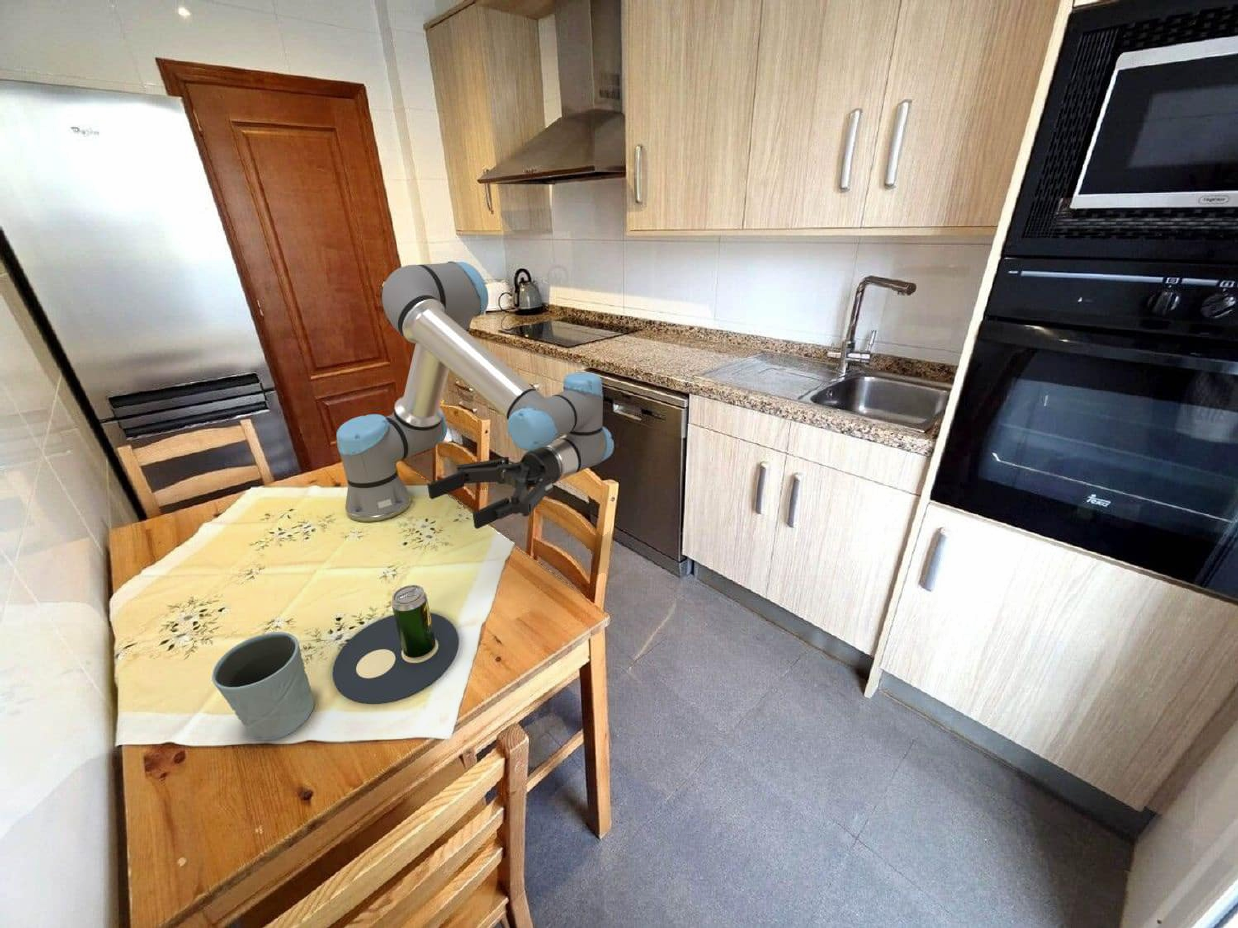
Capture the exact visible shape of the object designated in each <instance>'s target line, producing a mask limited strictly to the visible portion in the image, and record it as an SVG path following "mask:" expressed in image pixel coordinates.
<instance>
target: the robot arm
mask: <svg viewBox="0 0 1238 928" xmlns="http://www.w3.org/2000/svg"><path fill="white" fill-rule="evenodd" d="M381 292H382V294H381V302H382V307H383V310H384V313H385V315H386V318H387V320H388V321H389V323H390V324H391V325H392V327H393V329H395V330H396V331H397V333H399V335H401V336H402V337H403V338H404V339H406V341H408V342H410V343H411V344H415V346H414V350H413V354H412V358H411V363H410V367H409V371H408V376H407V379H406V380H407V381H406V384H405V389H404V393H403V396H401V397H400V398H398V399H397V400H396V401H395V403H394V406H393V412H392V414H390V415H387V416H384V415H382V414H379V413H378V414H375V413H372V414H371V413H369V414H367V415H360V416H357V417H353V418H351V419H349V420H347V421H345V422H343V424H341V425H340V426H339V428H337V431H336V435H335V436H336V442H337V450H338V452H339V455H340V459H341V463H342V466H343V471H344V474H345V475H344V476H345V478H346V481H347V491H346V499H345V500H346V501H345V506H344V507H345V512H346V516H347V517H348V518H349V519H351V520H352V521H356V522H359V523H360V522H361V523H374V522H375V523H376V522H381V521H385V520H389V519H393V518H394V517H397V516H399V515H400V514H402V513H404V512H405V511H406V510H408V509H409V508H410V506H411V504H412V497H411V493H410V491H409V490H408V488H407V487H406V485H405V483H404V481H403V480H402V478H401V477H400V475H399V472H398V466H397V463H399V462H401V461H404V460H406V459H408V458H411V457H413V456H416V455H418V454H420V453H423V452H425V451H427V450H432V449H433V448H435V447H436V446H438V445H440V444H442V442H443V441H444V440H445V438H446V437H447V435H448V423H446V422H447V418H446V415H445V414H444V411H443V410H442V408H441V406H440V404H441V400H442V397H443V393H444V390H445V386H446V383H447V380H448V376H449V374H450V372H452V373H453V374H454V375H455V376H456V377H457V378H459V379H460V381H462V382H463V383H464V384H466V385H467V386H468V387H469V388H470V389H471V390H472V391H473V392H474V393H476V395H478V396H479V397H480V398H482V399H483V400H484V401H485V402H486V403H488V404H489V406H491V407H492V408H493V409H494V410H495V411H497V413H499V415H501V416H502V417H504V418H505V419H506V420H507V424H506V428H507V429H506V430H507V433H508V436H509V437H511V440H512V443H513V444H514V445H515V446H516V447H518V448H519V449H520V450H522V451H526V452H525V453H524V454H523V455H522V458H521V459H520V461H517V462H516V461H515V462H511V461H510V457H509V456H503V457H499V458H496V459H491V460H484V461H477V462H470V463H469V462H468V463H463V464H462V463H461V464H458V465H457V464H456V473H454V474H451V475H448V476H446V477H443V478H440V479H437V480H435V481H433V482H430V483H427V484H426V485H427V490H428V491H427V492H428V497H429V499H430V500H434V499H437V498H439V497H442V496H444V495H447V494H449V493H452V492H455V491H458V490H459V489H461V488H464V487H465V484H480V483H481V484H484V483H498V484H499V485H509V486H511V487H512V488H514V492H513V494H512V495H510V498H508V497H505V498H502V499H500V500H498V501H496V502H493V503H491V504H489V505H487V506H484V507H483V508H480V509H478V510H476V511H473V512H472V519H473V527H474V529H476V530H478V529H481V528H482V527H485V526H487V525H490V524H491V523H494V522H495V521H497V520H502V519H504V518H506V517H508V516H510V515H518V514H521V516H522V517H526V518H527V517H529V516H530V515H531V513H533V511H534V510H535V509H536V508H537V507H538V506H539V504H540V503H541V502H542V500H543V499H544V498H545V497H546V496H547V495H549V494H550V493H552V492H553V485H554V484H556V483H557V482H560V481H562V480H564V479H566V478H568V477H570V476H573V475H575V474H577V473H580V472H582V471H584V470H587V469H588V468H591V467H594V466H597V465H599V464H600V463H601V462H603V461H605V460H607V459H608V458H609V457H611V455H612V454H613V452H614V449H615V443H614V440H613V438H612V433H611V432H610V431H609V430H608V428H606V427H605V426H603V417H604V415H603V413H604V412H603V411H604V393H603V381H602V378H601V377H600V376H599V375H597V374H595V373H593V372H592V373H591V372H584V371H583V372H579V371H578V372H573V373H569V374H567V375H566V376H565V377H564V379H563V386H562V389H563V390H562V391H560V392H558V393H555V394H553V395H551V396H549V397H545V396H544V395H543V394H542V393H540V392H539V391H538V390H536V388H534V387H533V386H531V385H530V383H528V382H527V381H526V380H525V379H524V378H522V377H521V376H520V375H519V374H518V373H516V372H515V371H514V370H513V369H512V368H510V366H508V365H507V364H506V363H504V362H503V360H501V359H500V358H499V357H497V356H496V355H495V354H494V353H493V352H491V351H490V350H489V349H488V347H486V346H484V345H483V344H482V343H481V342H480V341H479V340H478V339H476V338H475V337H474V336H473V335H472V334H470V333H469V330H470V327H471V324H472V320H473V318H474V317H475V318H477V317H480V316H481V315H483V314H484V313H486V310H487V309H488V306H489V290H488V287H487V286H486V283H485V280H484V278H483V276H482V274H481V272H479V270H478V269H477V268H475V267H474V266H473V265H472V264H470V263H468V262H464V261H453V260H449V261H447V262H441V263H425V264H424V263H423V264H407V265H404V266H401V267H399V268H397V269H395V270H394V271H393V272H391V273H390V275H389V276H388V277H387V278H386V280H385V282H384V285H383V287H382V291H381ZM564 436H565V437H564ZM531 488H532V489H531Z"/></svg>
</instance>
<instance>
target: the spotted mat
mask: <svg viewBox="0 0 1238 928" xmlns="http://www.w3.org/2000/svg"><path fill="white" fill-rule="evenodd" d="M430 615H431V620H432V625H433V630H434V635H435V641H436V644H435V647H434V650H433V651H432V653H430V654H429V655H428V656H426V657H424V658H422V659H417V660H414V659H410V658H408V657H407V656H405V654H404V653H403V650H402V646H401V641H400V637H399V633H398V629H397V625H396V621H395V616H394V614H392V615H389V616H386V617H384V618H381V619H378V620H377V621H375V622H373V623H371V624H369V625H367V626H365V627H364V628H362V629H361V630H360V631H358V632H357V633H355V634H354V635H353V636H352V637H351V638H350V639H349V640H348V641H347V642H346V643H345V644H344V645H343V647H341V648H340V651H339V652H338V654H337V656H336V658H335V660H334V663H333V666H332V680H333V683H334V686H335V687H336V690H337V691H338V692H339V693H340V694H341V695H342V696H344V697H345V698H347V699H349V700H351V701H353V702H356V703H361V704H367V705H368V704H369V705H379V704H387V703H392V702H393V703H394V702H397V701H400V700H403V699H406V698H409V697H411V696H414V695H416V694H417V693H420V692H421V691H423V690H425V689H426V688H428V687H430V686H431V685H432V684H433V683H435V682H436V681H437V680H438V679H440V677H442V676H443V675H444V674H445V672H447V670H448V669H449V668H450V666H451V665H452V663H453V662H454V660H455V658H456V655H457V653H458V650H459V635H458V631H457V628H456V627H455V626H454V624H453V623H452V622H451V621H450V620H449V619H447V618H446V617H444V616H442V615H440V614H438V613H434V612H430Z"/></svg>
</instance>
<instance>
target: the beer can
mask: <svg viewBox="0 0 1238 928" xmlns="http://www.w3.org/2000/svg"><path fill="white" fill-rule="evenodd" d="M391 607H392V612H393V615H394V616H395V621H396V625H397V629H398V633H399V637H400V641H401V646H402V650H403V653H404V654H405V656H407V657H408V658H410V659H414V660H417V659H422V658H424V657H426V656H428V655H429V654H430V653H432V651H433V650H434V647H435V644H436V641H435V635H434V630H433V625H432V620H431V615H430V613H431V611H430V606H429V601H428V596H427V592H426V591H425V589H424V587H422V586H421V585H418V584H409V585H405V586H402V587H400V588H398V589H396V590H395V592H394V593H393V594H392V596H391Z"/></svg>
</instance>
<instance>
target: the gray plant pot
mask: <svg viewBox="0 0 1238 928" xmlns="http://www.w3.org/2000/svg"><path fill="white" fill-rule="evenodd" d="M305 669H306V667H305V662H304V659H303V657H302V651H301V647H300V643H299V640H298V638H297V637H296V636H295V635H293V634H292V633H289V632H288V633H287V632H285V631H273V632H268V633H263V634H259V635H256V636H252V637H249V638H248V639H245V640H244V641H242V642H240V643H238V644H236V645H235V646H234V647H232V648H231V649H229V650H228V651H226V653H224V654H223V655H222V656H221V657H220V659H218V661H217V662H216V664H215V665H214V667H213V670H212V674H211V681H212V683H213V684H214V686H215V688H217V691H219V692H220V694H221V695H222V697H223V698H224V699H225V701H227V702H226V703H227V704H228V705H229V707H230V708H231V710H233V711H234V714H235V715H236V716H237V718H238V720H239V721H240V722H241V724H242V725H244V727H245V730H246V731H247V733H248V734H249V735H250V736H251V737H252V739H255V740H258V741H264V742H266V741H267V742H268V741H269V742H270V741H275V740H278V739H281V738H283V737H286V736H288V735H289V734H291V733H292V732H296V730H297V729H298V728H300V727H301V726H302V725H303V724H304V723H305V722H306V721H307V720H308V719H309V717H310V716H311V714H312V712H313V710H314V706H315V698H314V694H313V691H312V688H311V685H310V681H309V678H308V674H307V673H306V670H305Z"/></svg>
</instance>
